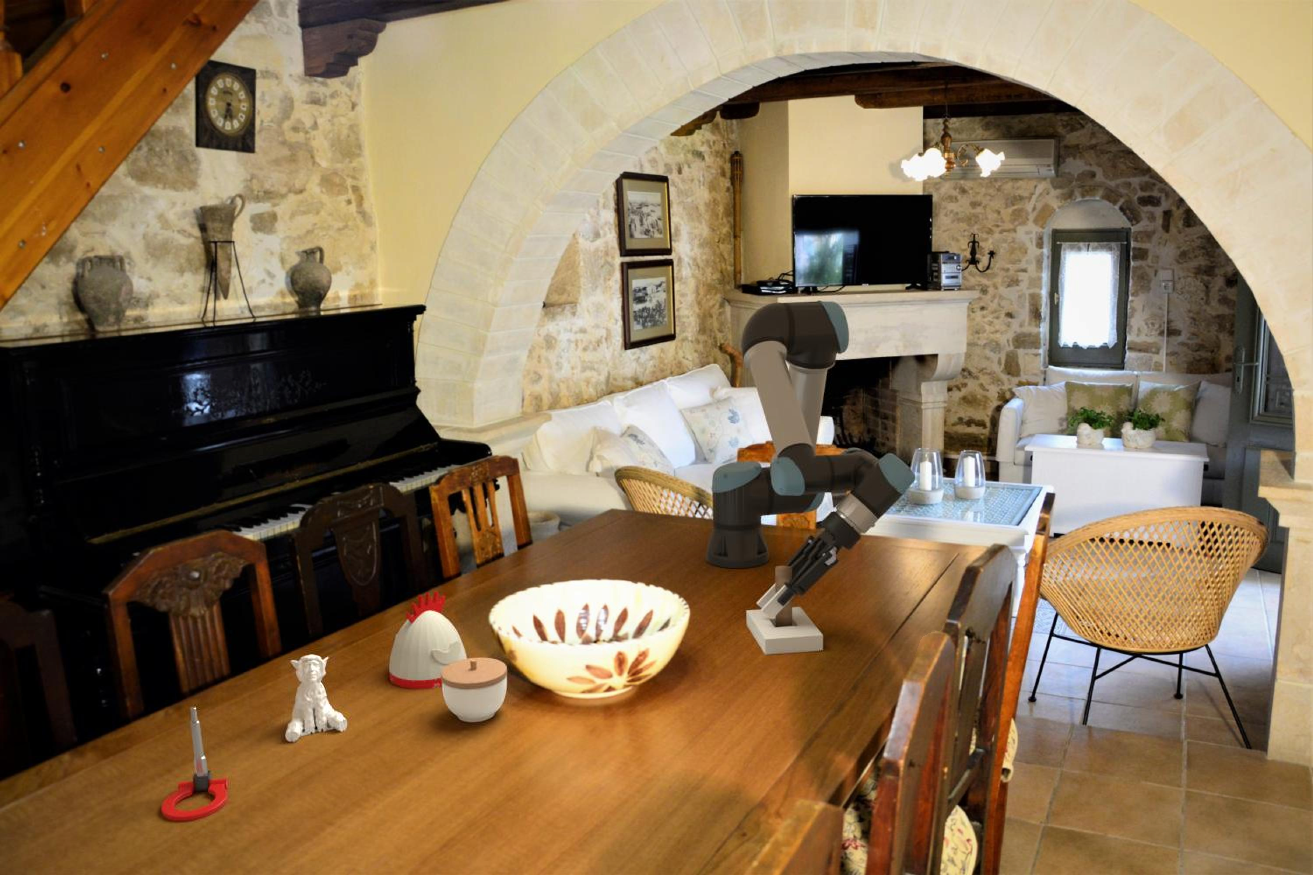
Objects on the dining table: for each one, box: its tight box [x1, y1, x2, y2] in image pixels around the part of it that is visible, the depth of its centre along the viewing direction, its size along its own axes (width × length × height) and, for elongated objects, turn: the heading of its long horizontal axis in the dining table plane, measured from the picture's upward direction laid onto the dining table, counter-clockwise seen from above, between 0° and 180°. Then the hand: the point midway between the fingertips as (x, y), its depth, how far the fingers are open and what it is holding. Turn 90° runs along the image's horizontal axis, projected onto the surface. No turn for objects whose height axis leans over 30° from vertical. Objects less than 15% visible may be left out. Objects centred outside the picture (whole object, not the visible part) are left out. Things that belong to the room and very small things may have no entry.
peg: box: [774, 565, 793, 627], centre depth 204 cm, size 3×3×12 cm
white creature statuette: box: [284, 654, 348, 743], centre depth 170 cm, size 10×9×12 cm
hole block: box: [745, 606, 824, 655], centre depth 205 cm, size 16×11×3 cm
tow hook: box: [161, 706, 229, 822], centre depth 147 cm, size 8×13×9 cm
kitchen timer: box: [388, 590, 468, 690], centre depth 191 cm, size 14×14×15 cm
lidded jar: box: [441, 657, 508, 723], centre depth 174 cm, size 11×11×9 cm
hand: (764, 610), depth 204 cm, fingers closed on peg, 3 cm apart
